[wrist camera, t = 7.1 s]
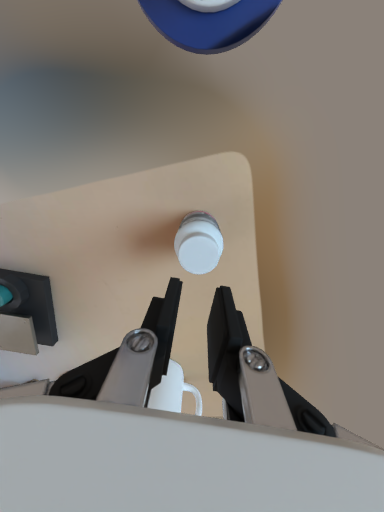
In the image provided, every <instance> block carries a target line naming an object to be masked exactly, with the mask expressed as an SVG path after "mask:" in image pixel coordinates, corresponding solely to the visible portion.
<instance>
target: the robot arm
mask: <svg viewBox="0 0 384 512" xmlns="http://www.w3.org/2000/svg"><path fill="white" fill-rule="evenodd" d="M178 1H180V2H181V3H182V4H184V5H185V6H187V7H189V8H191V9H192V10H196V11H200V12H218V11H221V10H225V9H227V8H229V7H231V6H233V5H234V4H236V3H238V2H239V1H240V0H178ZM179 280H180V279H178V278H172V277H171V278H170V281H169V284H168V288H167V291H166V294H165V298H159V297H153V298H152V301H151V303H150V306H149V308H148V311H147V313H146V316H145V318H144V321H143V323H142V326H141V328H139V329H135V330H132V331H130V332H129V333H128V334H126V336H125V337H124V339H123V341H122V343H121V346H120V347H119V348H116V349H114V350H112V351H110V352H108V353H106V354H104V355H102V356H100V357H98V358H96V359H93V360H91V361H89V362H87V363H85V364H83V365H81V366H79V367H77V368H75V369H73V370H71V371H68V372H67V373H65V374H63V375H62V376H61V377H59V378H58V379H57V380H56V381H51V382H49V379H46V380H41V381H36V382H31V383H26V384H21V385H16V386H11V387H6V388H1V389H0V512H384V449H383V448H380V447H379V446H377V445H375V444H373V443H371V442H370V441H368V440H366V439H364V438H362V437H360V436H358V435H356V434H354V433H352V432H351V431H349V430H347V429H345V428H343V427H341V426H339V425H337V424H335V423H333V425H331V424H330V423H329V422H328V420H327V419H326V418H325V417H324V415H323V414H322V413H321V412H319V410H317V409H316V408H315V407H314V406H313V405H311V404H310V403H309V402H307V400H305V399H304V398H303V397H302V396H301V395H299V394H298V393H297V392H296V391H295V390H293V389H292V388H291V387H290V386H289V385H287V384H286V383H285V382H284V381H282V380H281V379H280V378H279V377H278V376H277V374H276V371H275V368H274V366H273V363H272V361H271V359H270V357H269V356H268V355H267V354H266V353H265V352H264V351H263V350H261V349H259V348H258V347H255V346H252V344H251V341H250V337H249V334H248V331H247V327H246V324H245V320H244V317H243V314H242V312H241V311H237V310H236V308H235V304H234V300H233V296H232V293H231V289H230V287H226V286H220V288H216V292H215V295H214V299H213V303H212V307H211V311H210V315H209V319H208V324H207V341H208V368H209V382H210V383H213V391H217V392H218V393H219V394H220V395H221V396H222V397H223V401H222V405H223V417H224V419H218V418H211V417H204V416H198V415H191V414H185V413H178V412H171V411H165V410H158V409H151V408H148V405H149V400H150V396H151V391H152V389H153V388H154V387H156V386H157V385H158V384H160V383H161V379H162V375H165V376H167V371H168V365H169V359H170V353H171V347H172V342H173V336H174V330H175V324H176V318H177V313H178V307H179V301H180V295H181V289H182V283H183V282H182V281H179Z"/></svg>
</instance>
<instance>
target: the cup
mask: <svg viewBox="0 0 384 512" xmlns="http://www.w3.org/2000/svg"><path fill="white" fill-rule="evenodd" d="M183 380H184V374H183V370H182V368H181V366H180V365H179V364H178V363H177V362H175V361H173V360H171V359H169V365H168V371H167V376H165V375H162V379H161V383H160V384H158V385H157V386H156V387H154V388H153V389H152V391H151V396H150V400H149V405H148V408H151V409H158V410H165V411H171V412H178V413H181V404H182V392H183V391H189V392H191V393H193V394H194V396H195V399H196V412H195V415H198V416H201V414H202V399H201V395H200V393H199V391H198V389H197V388H196V387H195V386H193V385H191V384H189V383H185V382H183Z"/></svg>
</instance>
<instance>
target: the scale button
mask: <svg viewBox="0 0 384 512" xmlns="http://www.w3.org/2000/svg"><path fill="white" fill-rule="evenodd" d="M12 298H13V295H12V293H11V292H10V291H9V290H8V288H6V287H4V286H2V285H0V307H1V306H3V305H4V304H6V303H7V302H9V301H10V300H12Z"/></svg>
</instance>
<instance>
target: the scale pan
mask: <svg viewBox="0 0 384 512" xmlns="http://www.w3.org/2000/svg"><path fill="white" fill-rule="evenodd" d="M0 350H6V351H12V352H19V353H25V354H31V355H37V354H38V353H39V350H38V345H37V340H36V335H35V330H34V325H33V320H32V316H26V315H20V314H14V313H8V312H1V311H0Z"/></svg>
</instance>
